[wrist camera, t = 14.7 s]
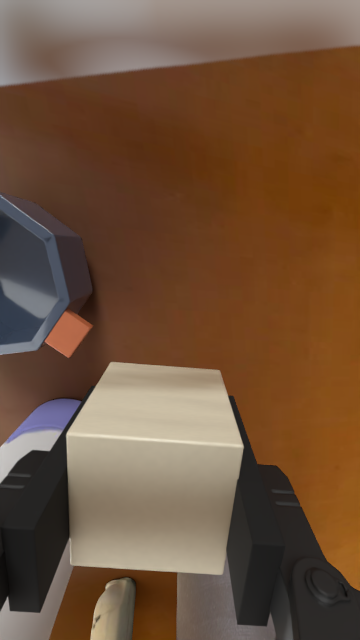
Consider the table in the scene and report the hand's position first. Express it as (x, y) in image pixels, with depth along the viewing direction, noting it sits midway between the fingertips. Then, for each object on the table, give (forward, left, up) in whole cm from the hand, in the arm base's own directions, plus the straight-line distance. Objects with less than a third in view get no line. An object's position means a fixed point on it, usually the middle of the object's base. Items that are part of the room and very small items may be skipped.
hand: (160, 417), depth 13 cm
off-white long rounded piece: (+31, +21, -15) cm, 41 cm away
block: (0, 0, 0) cm, 0 cm away
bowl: (+5, -12, -13) cm, 18 cm away
